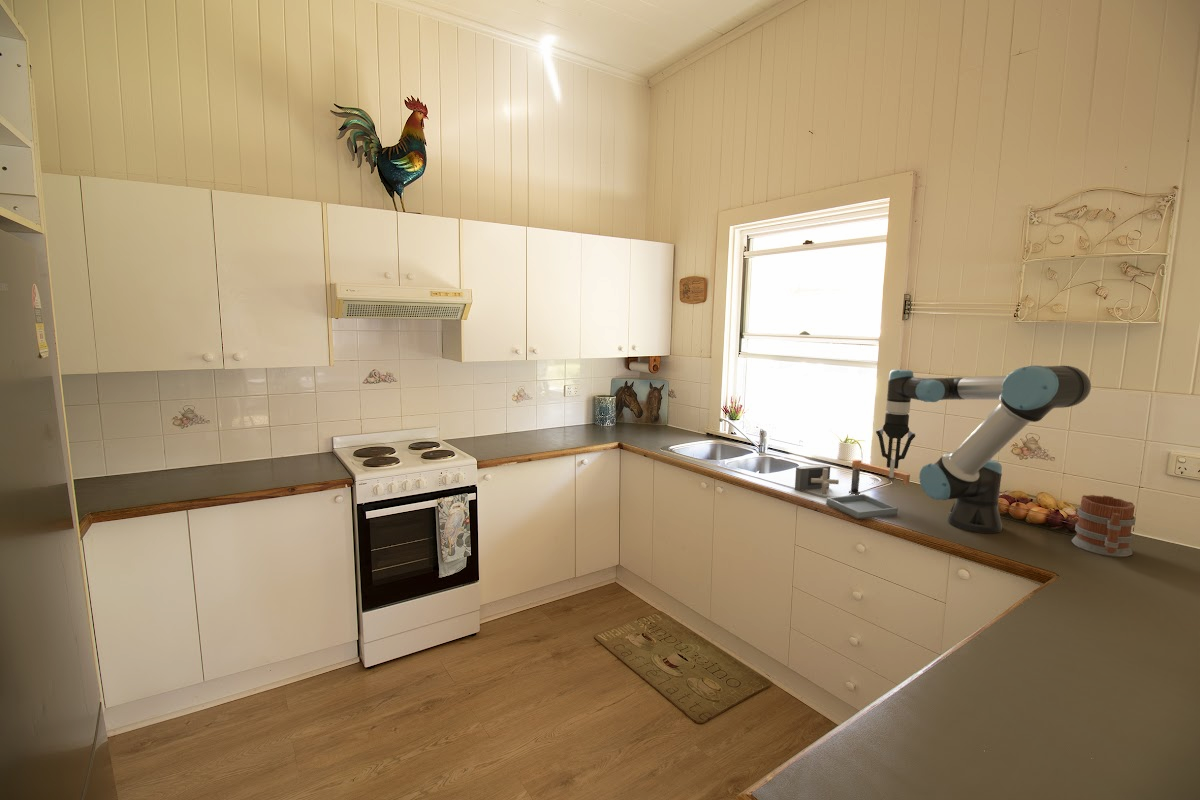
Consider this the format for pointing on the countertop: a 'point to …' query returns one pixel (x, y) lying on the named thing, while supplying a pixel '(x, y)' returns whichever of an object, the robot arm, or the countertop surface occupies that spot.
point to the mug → (1105, 526)
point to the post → (855, 482)
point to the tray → (861, 506)
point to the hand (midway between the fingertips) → (891, 476)
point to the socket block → (809, 477)
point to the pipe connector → (824, 481)
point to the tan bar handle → (880, 470)
